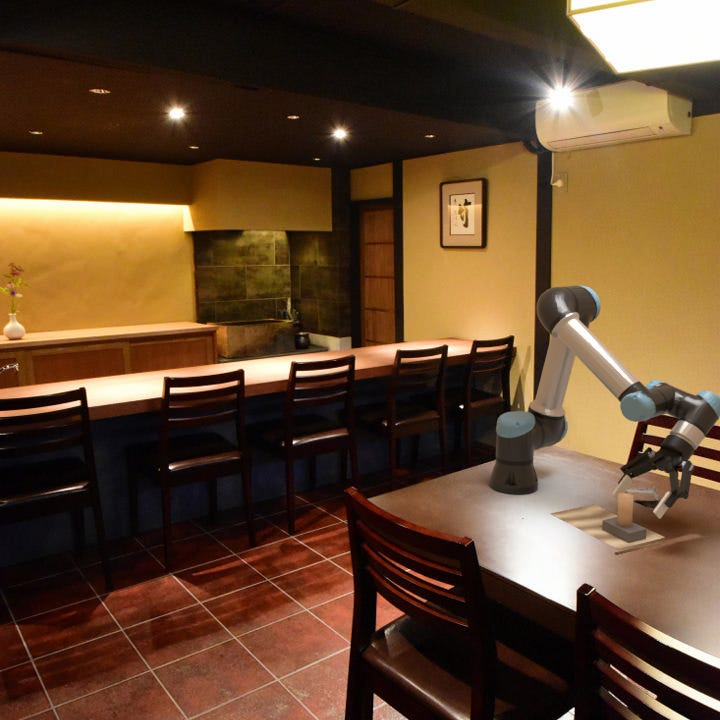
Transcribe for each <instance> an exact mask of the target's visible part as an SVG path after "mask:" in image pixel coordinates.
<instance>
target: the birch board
mask: <svg viewBox="0 0 720 720" xmlns="http://www.w3.org/2000/svg"><path fill="white" fill-rule="evenodd" d="M549 514H550V515H552V516H553V517H556V518H557V519H559V520H561V521H563V522H565V523H567V524H569V525H571V526H573V527H575V528H577V529H579V530H580V531H581V532H582V531H583V532H584V533H585V534H588V535H590V536H592V537H594V538H595V539H597V540H599V541H601V542H603V543H605V544H607V545H609V546H611V547H613V548H615V549H616V550H620V551H616V552H614V554H615V555H617V556H619V554H620V555H623V553H624V554H627V552H628V553H631V552H636V551H639V550H643V549H646V548H651V547H655V546H659V545H663V544H665V543H666V540H665V536H663V535H661V534H659V533H657V532H655V531H652V530H650V529H648V528H646V529H647V534H646V538H645V539H641V540H637V541H633V542H629V543H628V542H626V541H624V540H622V539H620V538H618V537H616V536H614V535H612V534H610V533H608V532H606V531H604V530H602V521H603V520H606V519H611V518H615V517H617V514H615V513H613V512H612V511H609V510H607V509H605V508H603V507H600V506H598V505H596V504H590V505H585V506H580V507H575V508H569V509H565V510H560V511H555V512H552V513H551V512H550V513H549ZM640 526H641V525H640ZM641 527H643V526H641ZM662 539H664V540H662ZM656 540H659V541H656ZM653 541H656V542H653ZM649 542H651V543H649ZM646 543H647V544H646ZM648 543H649V544H648ZM640 544H641V545H640ZM642 544H643V545H642ZM644 544H645V545H644ZM638 545H640V546H638ZM633 546H635V547H633ZM630 547H632V548H630ZM626 548H627V549H626ZM621 549H624V550H621Z"/></svg>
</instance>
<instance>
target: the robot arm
mask: <svg viewBox="0 0 720 720" xmlns="http://www.w3.org/2000/svg"><path fill="white" fill-rule="evenodd" d="M601 305H602V304H601V300H600V297H599V296H598V294H597V292H595V291H594V290H593V289H592V288H591V287H588V286H585V285H578V284H576V285H571V286H569V285H568V286H553V287H550V288H549V289H546V290H545V291H544V292H542V293H541V295H540V296H539V298H538V299H537V303H536V315H537V318H538V320H539V321H540V323H541V325H542V327H544V329H545V330H546V331H547V332H548V333H549V334H550V336H551V337H550V341H549V344H548V348H547V352H546V356H545V361H544V364H543V368H542V372H541V376H540V379H539V380H540V381H539V384H538V386H537V387H538V388H537V393H536V395H535V399H534V400H532V401H530V402H529V404H528V408H527V411H523V410H516V411H515V410H514V411H507V412H504V413H502V414H500V415H499V417H498V418H497V421H496V427H495V434H496V435H495V463H494V466H493V468H492V472H491V475H490V477H489V487H490V488H491V489H493V490H495V491H497V492H501V493H504V494H511V495H527V494H532V493H535V492H536V491H538V489H539V478H538V475H537V472H536V469H535V465H534V455H535V454H534V452H535V451H537V450H540V449H545V448H546V447H547V448H548V447H552V446H554V445H556V444H558V443H560V442H561V441H563V440H564V439H565V437H566V435H567V433H568V428H569V424H568V421H567V417H566V410H565V408H564V407H563V404H564V402H565V401H564V400H565V397H566V394H567V390H568V385H569V381H570V377H571V375H572V370H573V366H574V364H575V360H576V357H577V358H578V359H579V361H580V362H581V363H582V364H583V365H584V366H585V367H586V368H587V369H588V370H589V371H590V373H592V374H593V375H594V377H596V378H597V379H598V380H599V381H600V382H601V383H602V384H603V386H604V387H605V388H606V389H607V390H608V391H609V392H610V393H611V394H612V395H613V396H614V397H615V398H616V399H617V400H618V401H619V403H620V405H619V408H620V412H621V414H622V415H623V417H624V418H625V419H627V420H628V421H630V422H637V423H639V422H645V421H649V420H650V419H652V418H655V417H656V418H657V417H661V416H663V415H666V414H667V415H669V416H670V417H673V418H675V419H678V420H677V422H676V423H675V424H674V426H673V427H672V428H671V430H670V431H669V434H668V435H666V437H665V438H664V440H662V442H661V444H660V448H659V450H658V449H657V451H656V450H654V449H652V447H650V446H648V447H647V448H645V450H644V451H643V452H642V453H640V454H639V455H637V456H635V458H632V459H631V460H630V461H628V462H627V463H625V464H624V465H622V466H621V467H620V468H619V469H620V470H621V472H622V473H623V475H622V476H621V478H620V479H619V480H618V482H617V486H616V487H615V488H614V489H613V491H612V493H611V494H612V495H613V496H614V497H615V499H616V500H618V495H619V493H625V491H626V490H627V489H628V488H630V486H631V484H632V483H633V482H634V481H633V479H634V478H637V477H638V476H642V475H644V474H646V473H649V472H651V471H657V470H658V471H660V472H664V473H665V474H669V475H668V476H669V484H670V489H669V491H666V493H665V494H664V496H663V497H662V498H661V499H660V500H661V501H660V502H659V504H658V505H657V507H656V508H655V507H654V510H653V511H652V513H653V514H654V515H655V516H656V517H657V518H658V519H662V517H664V515H665V513H666V512H667V510H668V509H671V508H672V507H673V506H674V504H675V503H676V502H677V500H678V499H683V500H687V499H688V498H689V495H690V488H691V482H692V481H691V480H692V474H693V472H694V470H695V468H696V467H695V466H694V464H693V463H692V461H691V460H690V459H691V458H692V456H693V455H694V453H695V450H697V448H698V447H699V446H700V445H701V443H702V442H703V440H704V439H705V438H706V437H707V435H708V434H709V432H710V431H711V429H712V428H713V427H714V425H715V424H716V423H717V422H718V421H719V420H720V396H719V394H716V393H715V392H713V391H710V390H704V389H702V390H700V391H699V392H697V393H696V394H693V393H690V392H687V391H685V390H682V389H681V388H678V387H675V386H673V385H671V384H669V383H668V382H666V381H665V382H664V381H661V380H658V379H654V380H651V381H649V383H647V384H646V385H644V384H643V383H642V382H641V381H640V380H639V379H638V378H637V377H636V376H635V375H634V374H633V373H632V372H631V371H630V370H629V368H627V367H626V366H625V365H624V364H623V363H622V362H621V360H620V359H618V358H617V357H616V355H614V354H613V352H611V351H610V349H608V347H606V345H604V343H602V341H601V340H600V339H599V338H598V337H596V335H595V334H594V333H593V332H592V331H591V330H590V329H589V327H590V323H592V322H594V321H595V320H597V318H598V317H599V315H600V312H601V310H602V309H601ZM681 469H682V470H681ZM679 470H681V477H680V479H679V476H680V475H679ZM679 481H680V482H679Z"/></svg>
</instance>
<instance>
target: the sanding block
mask: <svg viewBox="0 0 720 720" xmlns="http://www.w3.org/2000/svg"><path fill="white" fill-rule="evenodd" d="M633 499H634V494H632V493H631V492H628V493H619V495H618V499H617V511H616V512H617V514H616V515H617V517H615V518H611V519H606V520H603V521H602V530H604V531H606V532H608V533H610V534H612V535H614V536H616V537H618V538H620V539H622V540H624V541H626V542H628V543H629V542H633V541H637V540H641V539H645V538H646V534H647V529H648V528H646V527H643V526H642V527H641V525H639V524H637V523H635V522H633V514H634V512H633V511H634V502H633Z"/></svg>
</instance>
